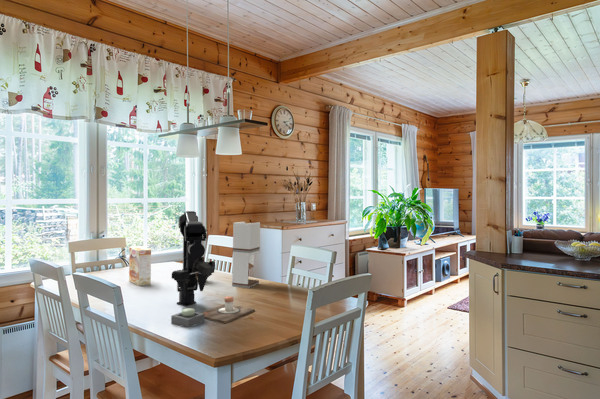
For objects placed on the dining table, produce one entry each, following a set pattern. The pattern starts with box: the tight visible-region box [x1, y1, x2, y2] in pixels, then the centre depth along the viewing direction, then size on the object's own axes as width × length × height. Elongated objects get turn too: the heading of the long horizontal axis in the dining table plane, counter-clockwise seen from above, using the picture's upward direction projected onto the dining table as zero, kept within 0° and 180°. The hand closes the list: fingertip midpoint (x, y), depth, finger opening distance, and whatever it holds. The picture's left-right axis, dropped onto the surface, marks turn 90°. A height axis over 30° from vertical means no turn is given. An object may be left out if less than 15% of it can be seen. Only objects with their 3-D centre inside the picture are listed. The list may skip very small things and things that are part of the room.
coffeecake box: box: [128, 245, 152, 287], centre depth 227 cm, size 15×7×20 cm, turn 42°
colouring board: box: [200, 303, 256, 324], centre depth 173 cm, size 16×20×1 cm
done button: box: [181, 308, 196, 317], centre depth 161 cm, size 5×5×2 cm
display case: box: [231, 221, 261, 289], centre depth 226 cm, size 11×11×35 cm
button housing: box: [170, 311, 206, 328], centre depth 161 cm, size 9×9×3 cm
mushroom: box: [224, 295, 235, 311], centre depth 175 cm, size 4×4×6 cm
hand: (193, 293), depth 162 cm, fingers open, 9 cm apart
